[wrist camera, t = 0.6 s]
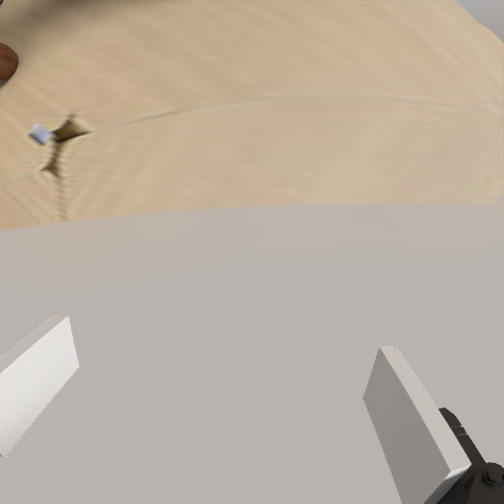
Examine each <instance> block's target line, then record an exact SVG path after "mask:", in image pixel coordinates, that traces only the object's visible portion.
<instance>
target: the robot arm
mask: <svg viewBox="0 0 504 504" xmlns="http://www.w3.org/2000/svg"><path fill="white" fill-rule="evenodd" d="M78 367H79V363H78V359H77V354H76V350H75V346H74V341H73V336H72V331H71V326H70V321H69V316H68V315H64V314H60V313H55V314H54V315H52V316H51V317H49V318H48V319H47V320H46V321H44V322H43V323H42V324H40V325H39V326H38V327H36V328H35V329H34V330H33V331H31V332H30V333H29V334H27V335H26V336H25V337H24V338H22V339H21V340H20V341H19V342H17V343H16V344H15V345H14V346H12V347H11V348H10V349H9V350H7V351H6V352H5V353H4V354H3V355H2V356H0V456H1V457H2V458H4V459H5V458H6V456H7V455H8V454H9V452H10V451H11V450H12V448H13V447H14V446H15V445H16V443H17V442H18V441H19V439H20V438H21V437H22V436H23V434H24V433H25V432H26V430H27V429H28V428H29V427H30V425H31V424H32V423H33V421H34V420H35V419H36V418H37V416H38V415H39V414H40V413H41V412H42V411H43V409H44V408H45V407H46V406H47V404H48V403H49V402H50V401H51V400H52V398H53V397H54V396H55V395H56V394H57V392H58V391H59V390H60V389H61V388H62V386H63V385H64V384H65V383H66V382H67V381H68V379H69V378H70V377H71V376H72V374H74V372H75V371H76V370H77V369H78ZM363 400H364V402H365V405H366V407H367V410H368V412H369V415H370V417H371V420H372V422H373V425H374V427H375V430H376V433H377V435H378V438H379V441H380V443H381V446H382V448H383V451H384V454H385V456H386V459H387V462H388V465H389V467H390V470H391V473H392V476H393V478H394V481H395V484H396V487H397V490H398V492H399V496H400V498H401V501H402V504H504V468H503V467H502V466H501V465H498V464H496V463H490V462H488V463H486V462H485V461H484V459H483V458H482V456H481V454H480V453H479V451H478V450H477V448H476V446H475V445H474V444H473V442H472V440H471V439H470V437H469V436H468V435H466V431H465V429H464V428H463V427H461V423H460V422H459V421H458V419H457V417H456V416H455V415H454V414H453V413H451V412H450V411H449V410H447V409H446V408H440V409H438V408H437V407H436V405H435V404H434V402H433V401H432V399H431V397H430V396H429V394H428V393H427V391H426V390H425V389H424V387H423V385H422V384H421V382H420V381H419V379H418V378H417V377H416V375H415V374H414V372H413V371H412V369H411V368H410V366H409V365H408V363H407V362H406V361H405V359H404V358H403V356H402V355H401V353H400V352H399V351H398V349H397V348H396V347H395V346H393V347H379V350H378V353H377V356H376V360H375V363H374V367H373V369H372V372H371V376H370V379H369V381H368V385H367V387H366V390H365V393H364V396H363Z"/></svg>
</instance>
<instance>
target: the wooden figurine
mask: <svg viewBox="0 0 504 504" xmlns="http://www.w3.org/2000/svg"><path fill="white" fill-rule="evenodd" d="M17 65H18V56H17V54H16V53H15V52H14V51H13V50H12V49H11V48H10V47H8V46H7V45H4V44H2V43H0V80H3V79H6V78H9V77H10V76H11V75H12V74H13V73H14V72H15V70H16V68H17Z"/></svg>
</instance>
